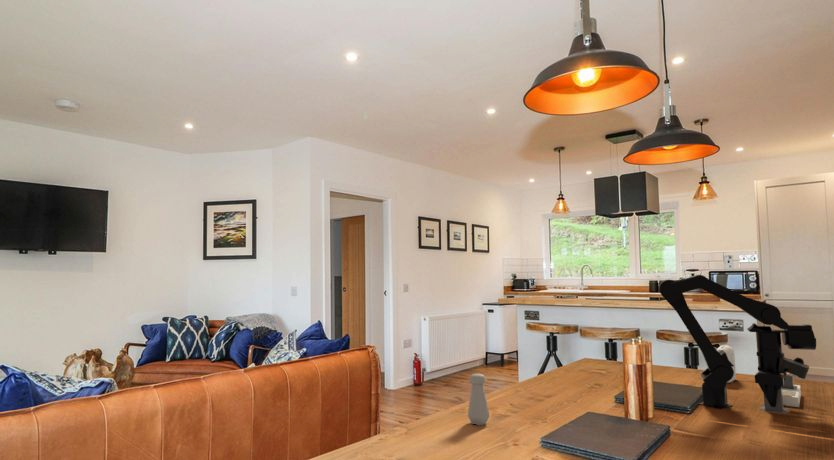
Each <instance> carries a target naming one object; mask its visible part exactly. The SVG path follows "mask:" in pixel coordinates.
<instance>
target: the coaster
mask: <svg viewBox="0 0 834 460" xmlns="http://www.w3.org/2000/svg"><path fill="white" fill-rule="evenodd" d="M758 408H759V410H760V411H763V412H766V413H772V414H789V413H791V411H790V410H789V409H787V408H784V409H783V412H777V411H769V410H765V405H763V406H759V407H758Z"/></svg>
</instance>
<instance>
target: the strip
mask: <svg viewBox="0 0 834 460" xmlns="http://www.w3.org/2000/svg"><path fill="white" fill-rule="evenodd" d="M780 374H781V375H783V376H784V377H786V380H785V381H784V386H782V396H783V406H786V407H793V408H800V404H801V403H800V402H801V397H802V392H801V390H802V389H801V384H800V385H799V384H794V375H793V374H791V373H788V372H787V375H784V374H782V373H780Z"/></svg>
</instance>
